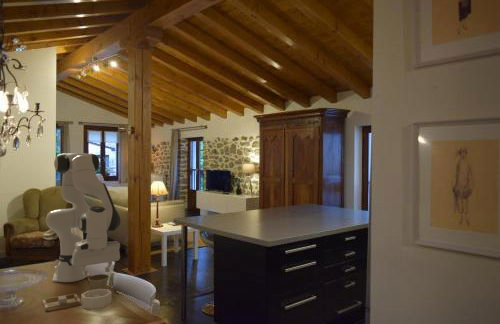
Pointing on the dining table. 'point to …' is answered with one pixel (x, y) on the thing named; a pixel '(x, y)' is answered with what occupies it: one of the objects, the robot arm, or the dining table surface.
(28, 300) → the dining table surface
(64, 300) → the block
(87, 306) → the bowl
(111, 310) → the dining table surface
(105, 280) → the flower pot
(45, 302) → the tray
